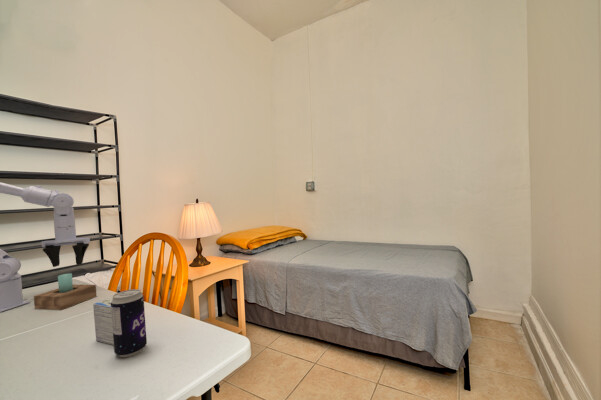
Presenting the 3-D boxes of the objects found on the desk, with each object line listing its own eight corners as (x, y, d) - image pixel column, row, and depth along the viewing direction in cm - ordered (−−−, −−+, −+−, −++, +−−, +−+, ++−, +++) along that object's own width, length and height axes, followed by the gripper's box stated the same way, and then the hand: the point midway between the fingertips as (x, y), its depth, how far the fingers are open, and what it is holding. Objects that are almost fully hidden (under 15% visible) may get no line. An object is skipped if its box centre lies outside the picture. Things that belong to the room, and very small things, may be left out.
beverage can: (136, 358, 54) (132, 297, 54) (107, 360, 54) (103, 299, 54) (152, 343, 60) (148, 287, 60) (126, 344, 60) (122, 289, 60)
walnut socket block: (34, 308, 86) (33, 296, 86) (71, 295, 97) (70, 284, 97) (62, 309, 84) (61, 296, 84) (96, 296, 94) (95, 284, 94)
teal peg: (56, 301, 89) (54, 276, 89) (68, 297, 92) (66, 273, 92) (65, 301, 88) (63, 276, 88) (76, 297, 92) (74, 273, 92)
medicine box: (137, 337, 63) (134, 299, 63) (117, 347, 59) (114, 307, 59) (115, 332, 66) (112, 296, 66) (95, 341, 62) (92, 303, 62)
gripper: (33, 230, 94) (36, 270, 94) (79, 226, 96) (82, 265, 96) (49, 227, 101) (52, 265, 101) (92, 224, 103) (95, 261, 103)
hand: (67, 265), depth 99 cm, fingers open, 7 cm apart
